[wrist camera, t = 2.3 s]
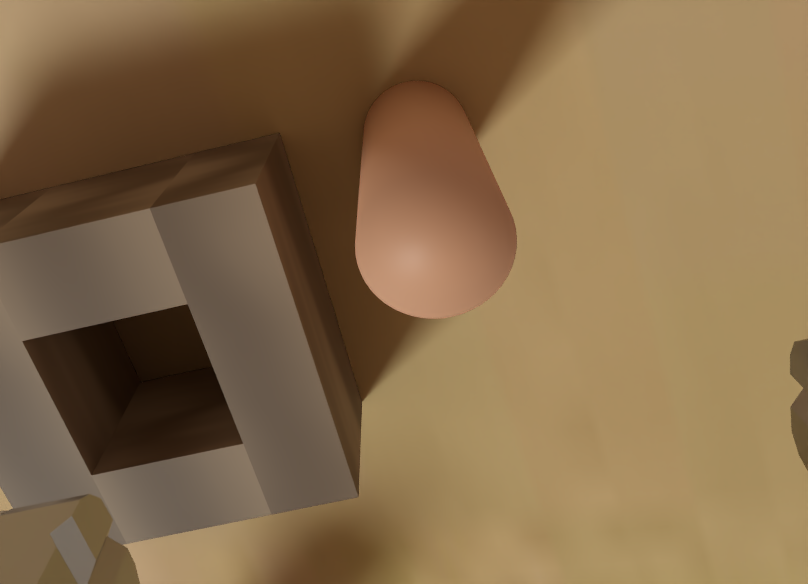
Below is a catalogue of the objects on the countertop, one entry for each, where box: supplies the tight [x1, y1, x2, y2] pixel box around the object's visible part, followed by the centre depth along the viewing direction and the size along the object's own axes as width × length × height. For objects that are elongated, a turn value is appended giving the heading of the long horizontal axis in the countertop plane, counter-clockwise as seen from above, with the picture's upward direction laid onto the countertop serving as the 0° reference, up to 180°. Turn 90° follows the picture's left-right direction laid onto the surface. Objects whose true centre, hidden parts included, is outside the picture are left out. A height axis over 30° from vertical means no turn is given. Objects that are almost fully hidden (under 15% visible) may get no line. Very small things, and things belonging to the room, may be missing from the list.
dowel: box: [355, 81, 517, 319], centre depth 19 cm, size 3×3×9 cm
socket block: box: [0, 133, 362, 545], centre depth 23 cm, size 10×10×5 cm
